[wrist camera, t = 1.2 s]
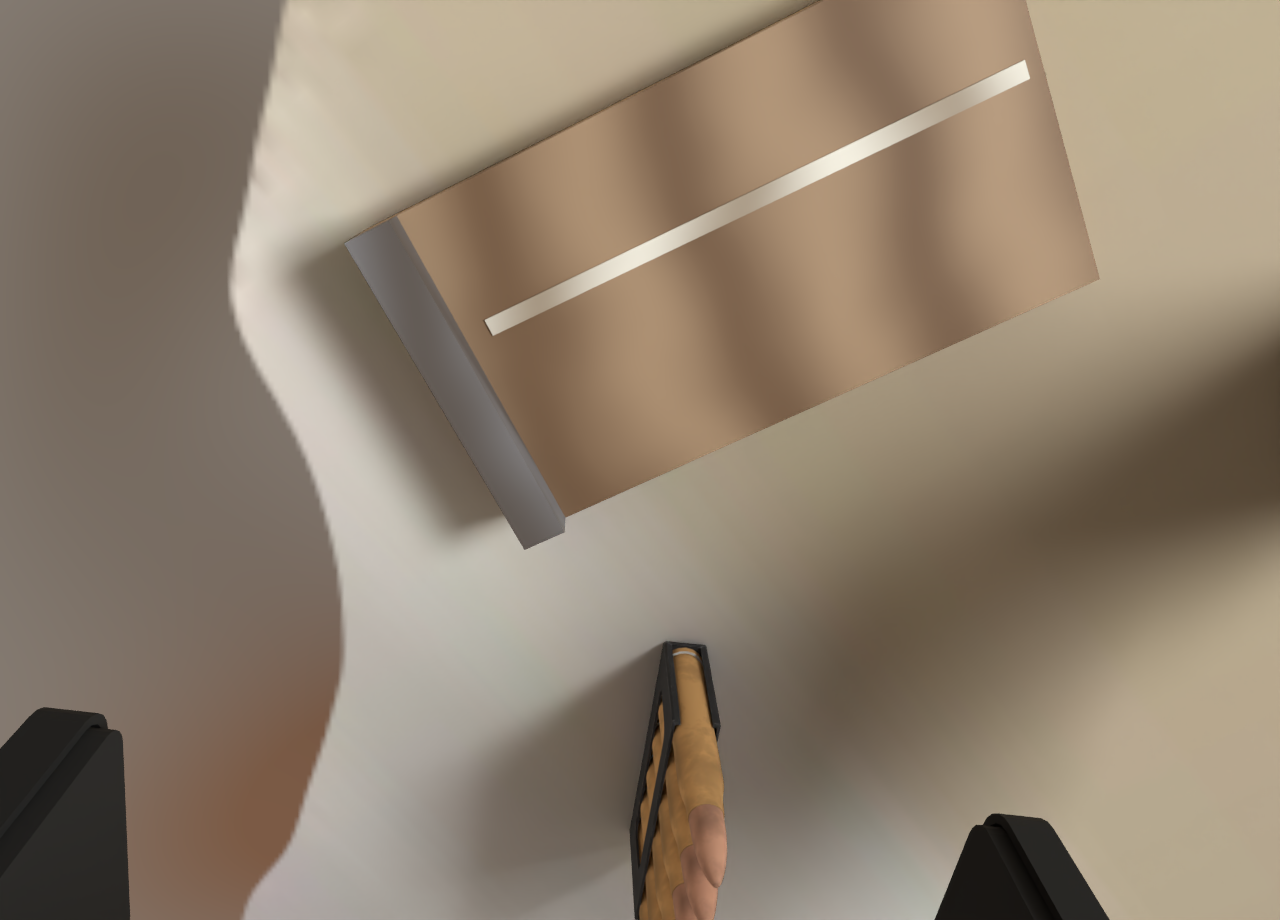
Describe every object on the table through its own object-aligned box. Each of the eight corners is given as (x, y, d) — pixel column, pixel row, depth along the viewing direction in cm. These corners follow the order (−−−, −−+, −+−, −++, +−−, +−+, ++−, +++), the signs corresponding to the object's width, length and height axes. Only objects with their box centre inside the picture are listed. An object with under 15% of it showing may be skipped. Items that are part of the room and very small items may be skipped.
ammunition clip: (664, 639, 39) (692, 861, 28) (706, 643, 39) (751, 865, 28) (629, 832, 43) (641, 1094, 32) (668, 835, 43) (694, 1097, 32)
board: (970, -76, 29) (1019, -97, 26) (1066, 266, 33) (1118, 286, 30) (370, 226, 32) (343, 243, 28) (531, 507, 36) (524, 549, 33)
